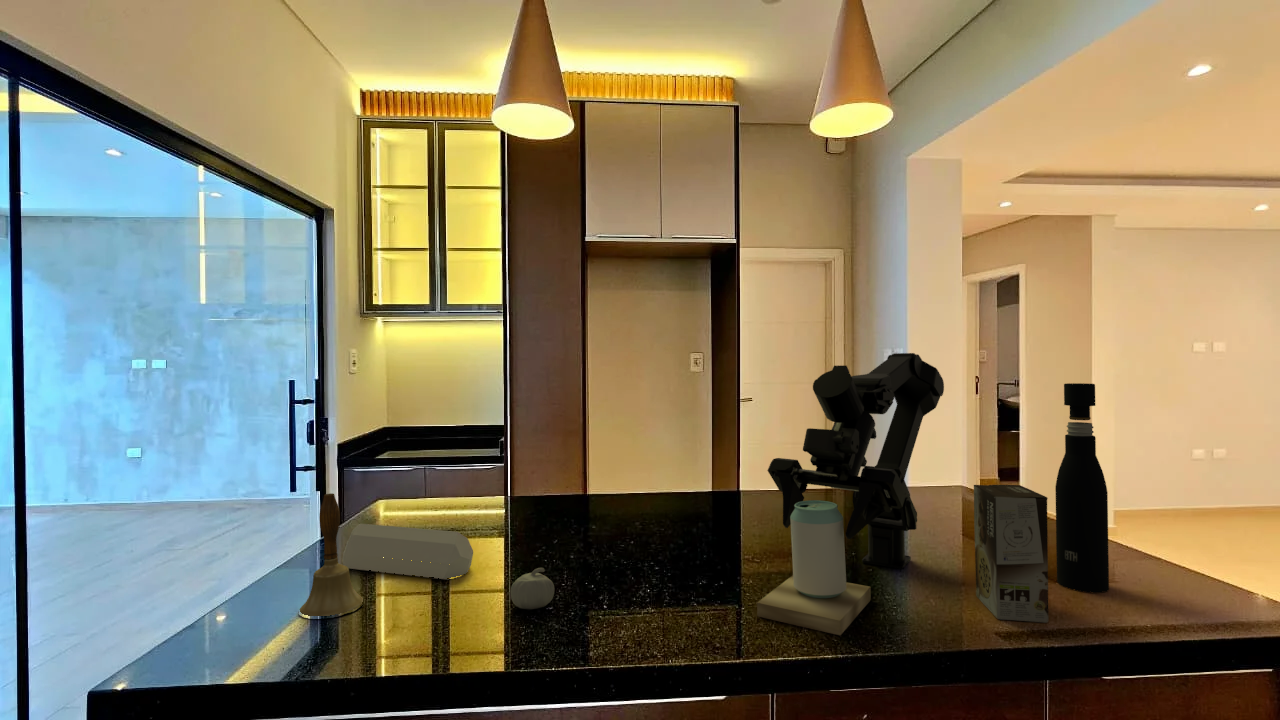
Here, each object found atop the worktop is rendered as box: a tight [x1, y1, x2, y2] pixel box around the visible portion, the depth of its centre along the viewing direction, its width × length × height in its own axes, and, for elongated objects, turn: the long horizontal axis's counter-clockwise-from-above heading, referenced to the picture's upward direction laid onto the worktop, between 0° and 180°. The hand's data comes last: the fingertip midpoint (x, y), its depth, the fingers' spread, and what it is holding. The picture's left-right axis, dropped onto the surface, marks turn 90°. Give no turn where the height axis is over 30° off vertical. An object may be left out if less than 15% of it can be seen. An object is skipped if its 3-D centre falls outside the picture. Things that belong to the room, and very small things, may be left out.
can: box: [790, 499, 847, 598], centre depth 88 cm, size 7×7×12 cm
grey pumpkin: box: [510, 567, 555, 610], centre depth 89 cm, size 6×5×5 cm
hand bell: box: [299, 493, 364, 616], centre depth 89 cm, size 8×8×16 cm
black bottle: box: [1054, 382, 1110, 594], centre depth 95 cm, size 6×6×30 cm
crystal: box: [341, 523, 474, 580], centre depth 105 cm, size 7×7×24 cm
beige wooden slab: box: [756, 574, 872, 636], centre depth 87 cm, size 14×11×2 cm
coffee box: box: [973, 484, 1049, 624], centre depth 86 cm, size 9×6×16 cm
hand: (815, 531), depth 87 cm, fingers open, 9 cm apart
